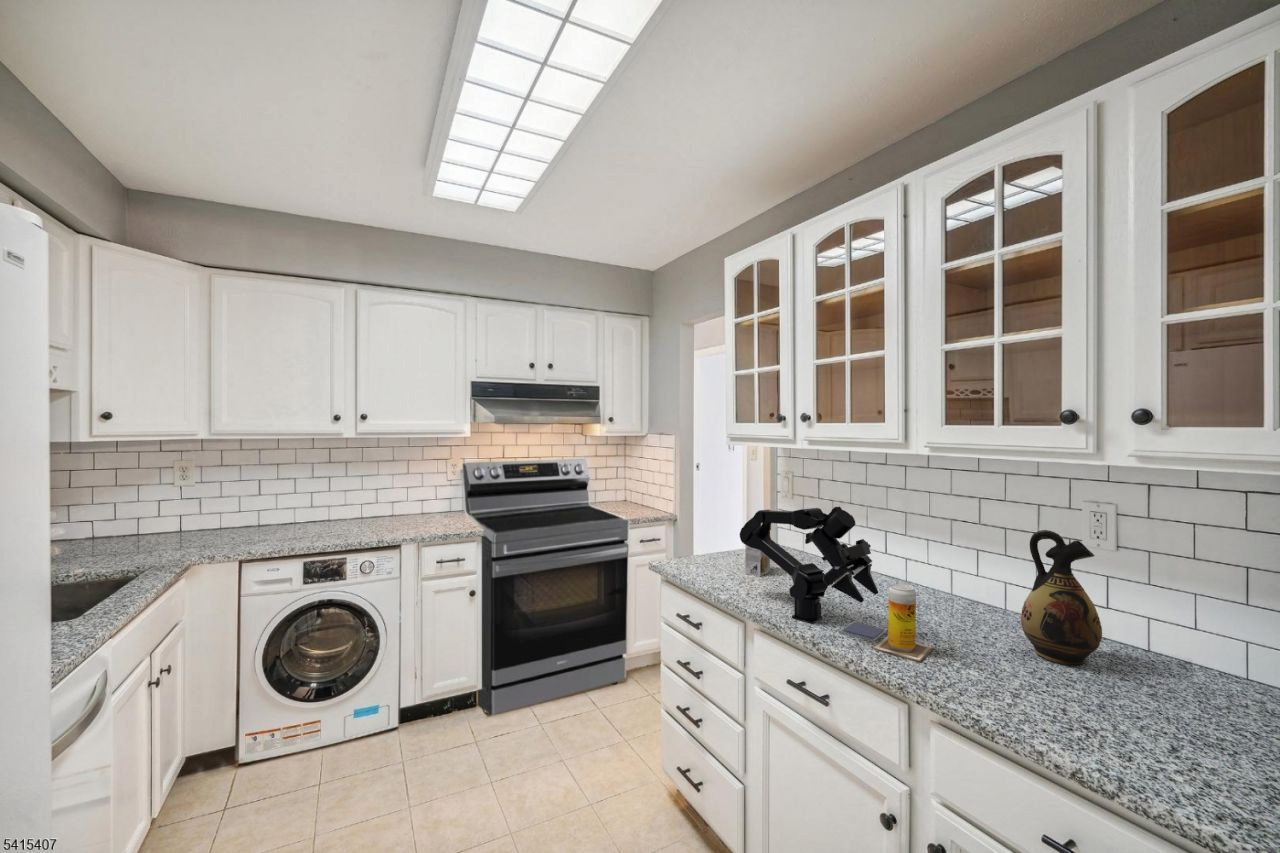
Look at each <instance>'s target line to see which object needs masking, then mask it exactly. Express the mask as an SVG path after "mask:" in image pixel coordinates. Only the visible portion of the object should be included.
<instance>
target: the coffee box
mask: <svg viewBox="0 0 1280 853" xmlns="http://www.w3.org/2000/svg"><path fill="white" fill-rule="evenodd" d="M769 533H770V534H771V531H770V532H769ZM744 545H745V544H744ZM744 553H745V560H744V561H745V562H744V563H745V565H744V566H745V568H744V569H745V570H744V573H745V574H744V575H747V574H749V576H752V575H754V576H753V577H758V576H761V577H763V576H765V575H767V574H769V573H770V572H771V559H770V558H769V557H768V556H766V555H765V554H764V553H763V552H762V551H760V550H758V549H754V548H751V547H749V546H747V545H745V552H744ZM769 571H770V572H769ZM764 574H765V575H764Z"/></svg>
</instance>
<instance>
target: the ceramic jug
mask: <svg viewBox="0 0 1280 853" xmlns="http://www.w3.org/2000/svg"><path fill="white" fill-rule="evenodd" d="M1042 540H1051V541H1053V542H1054V543H1055V544H1056V545H1054V546H1052V547H1050V548H1049V549H1048V550H1047V551H1046V552H1045V557H1046V558H1048V559H1052V560H1053V562H1052V563H1053V564H1052V566H1051V567H1050V569H1049V570H1048V572H1047V571H1046V569H1045V565H1044V563H1043V561H1042V558H1041V554H1040V552H1039V546H1038V544H1039V541H1042ZM1029 551H1030V555H1031V557H1032V560H1033V562H1034V565H1035V568H1036V572H1037V575H1036V577H1035V580H1034V582H1033V586H1032V589H1031V590H1030V592H1029V594H1028V596H1026V598H1025V600H1024V602H1023V606H1022V608H1021V614H1020V626H1021V629H1022V631H1023V633H1024V635H1025V637H1026V638H1027V640H1028V641H1029V642H1030V643H1031V644H1032V645H1033V647H1034V649H1033V652H1034V653H1035V654H1037V655H1038V656H1040V657H1042V658H1043V659H1045V660H1047V661H1050V662H1053V663H1057V664H1060V665H1064V666H1068V667H1077V666H1079V667H1081V666H1080V665H1082V666H1084V665H1083V664H1085V665H1086V662H1085V661H1086V659H1087V658H1088V657H1089V656H1090V655H1091V654H1093V653H1094V652H1095V651H1096V650H1097V649H1098V648H1099V646H1100V644H1101V641H1102V638H1103V628H1102V625H1101V624H1102V622H1101V620H1100V617H1099V614H1098V612H1097V609H1096V607H1095V604H1094V602H1093V601H1092V599H1091V598H1090V596H1089V595H1088V593H1087V592H1086V590H1085V588H1084V587H1083V586H1082V585H1081V583H1080V582H1079V581H1078V580H1077V578H1076V576H1075V575H1074V573H1073V571H1072V568H1071V566H1072V565H1071V564H1072V563H1073V562H1074V561H1075V562H1076V561H1078V560H1083V559H1088V558H1094V557H1095V554H1094V553H1093V552H1092V551H1091V550H1090V549H1089V548H1087V546H1085V545H1084V544H1083V542H1082V541H1080V540H1073V541H1072V542H1070V543H1068V544H1066V542H1065V540H1064V539H1063V537H1062V536H1061V535H1060V534H1059V533H1057V532H1055V531H1052V530H1048V529H1040V530H1038V531H1036V532H1034V533H1033V534H1032V535H1031V537H1030V540H1029ZM1012 649H1013V647H1012Z"/></svg>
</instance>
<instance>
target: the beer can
mask: <svg viewBox="0 0 1280 853" xmlns="http://www.w3.org/2000/svg"><path fill="white" fill-rule="evenodd" d="M887 610H888V614H887V615H888V621H887V622H888V624H887V628H888V629H887V636H888V643H889V644H890V646H891V647H892V648H893V649H895V650H898V651H904V652H909V651H912V650H913V649H914V648H915V643H916V630H917V629H916V626H917V625H916V622H917V618H916V617H917V615H916V614H917V592H916V591H915V587H913V586H911V585H909V584H902V583H892V584H891V585H890V587H889V589H888V609H887Z"/></svg>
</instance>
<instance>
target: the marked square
mask: <svg viewBox="0 0 1280 853" xmlns="http://www.w3.org/2000/svg"><path fill="white" fill-rule="evenodd" d="M873 649H874V650H873ZM934 649H935V647H933V646H932V645H931V646H930V645H926V644H923V643H918V642H915V648H914V649H913V650H912V651H909V652H904V651H898V650H895V649H893V648H892V647H891V646H890V644H889V643H888V635H887V636H885V637H884V638H883V639H881V641H879V642H878V643H876V644H875V645H874V646H873V647H872V650H873V651H877V650H878V651H877V652H880V651H881V653H884V654H888V655H892V656H895V657H899V658H902V659H905V660H910V661H913V662H915V663H919V664H921V663H923V661H924V660H925V659H926V658H927V657H928V656H929V654H931V653H932V652H933V651H934Z"/></svg>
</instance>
